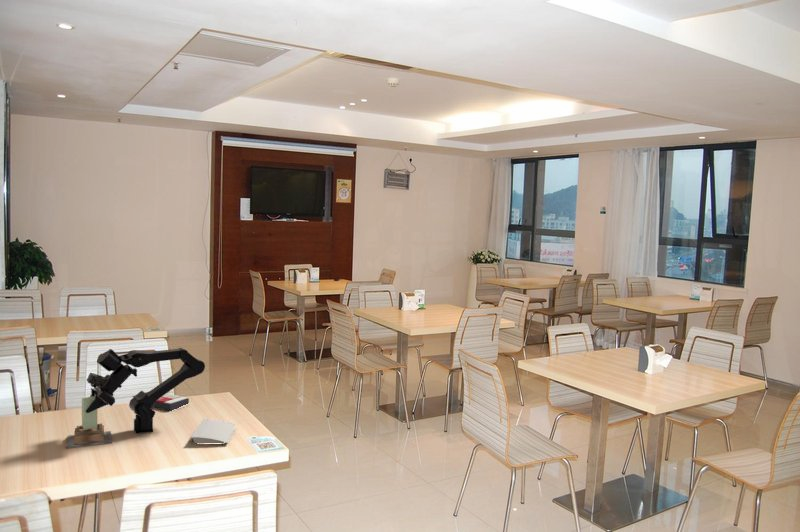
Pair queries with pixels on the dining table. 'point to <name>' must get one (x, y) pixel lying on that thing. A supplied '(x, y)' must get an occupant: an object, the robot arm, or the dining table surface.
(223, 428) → the book
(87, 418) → the pillar
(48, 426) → the dining table surface
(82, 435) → the base socket
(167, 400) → the grey and red box
